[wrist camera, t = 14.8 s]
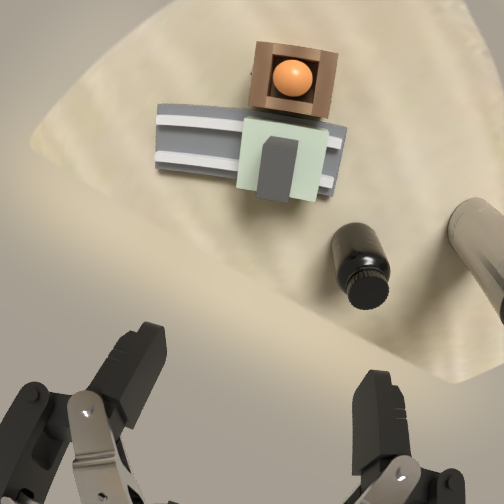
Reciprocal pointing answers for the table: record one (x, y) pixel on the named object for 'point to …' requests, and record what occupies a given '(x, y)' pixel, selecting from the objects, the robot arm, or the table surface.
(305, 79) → the button
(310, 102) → the cabinet
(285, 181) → the carriage
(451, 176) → the table surface
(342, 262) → the supplement bottle
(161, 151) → the track
